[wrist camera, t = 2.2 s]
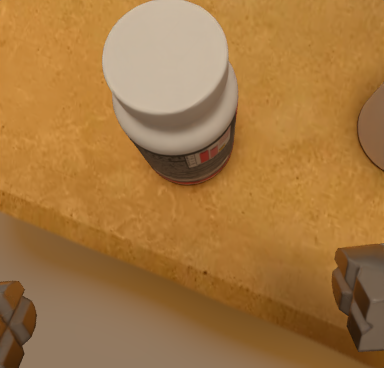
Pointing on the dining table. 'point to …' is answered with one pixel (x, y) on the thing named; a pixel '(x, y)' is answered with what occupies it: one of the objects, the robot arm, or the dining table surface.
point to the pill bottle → (173, 88)
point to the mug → (373, 127)
